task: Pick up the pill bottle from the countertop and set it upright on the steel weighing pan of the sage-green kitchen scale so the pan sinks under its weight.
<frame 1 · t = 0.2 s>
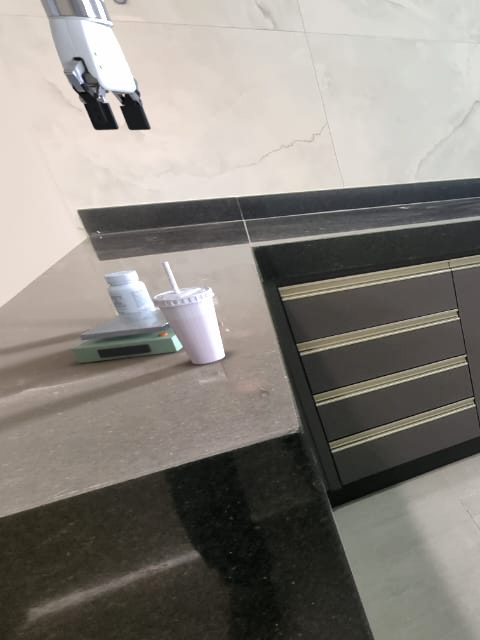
hand: (124, 129, 92), 30 cm above the counter, tool pointing down, fingers open, 9 cm apart
pill bottle: (141, 321, 92), on the counter
pan: (142, 322, 80), point 3 cm above the counter, slide at 0.0 cm
smoothie: (209, 360, 75), on the counter
scale: (151, 342, 81), on the counter
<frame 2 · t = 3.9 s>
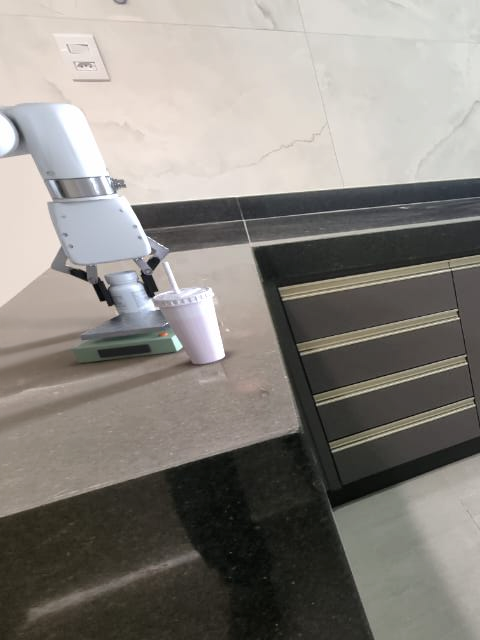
hand: (131, 299, 90), 4 cm above the counter, tool pointing down, fingers closed on pill bottle, 4 cm apart
pill bottle: (141, 321, 92), on the counter, touching gripper
everything else where it was.
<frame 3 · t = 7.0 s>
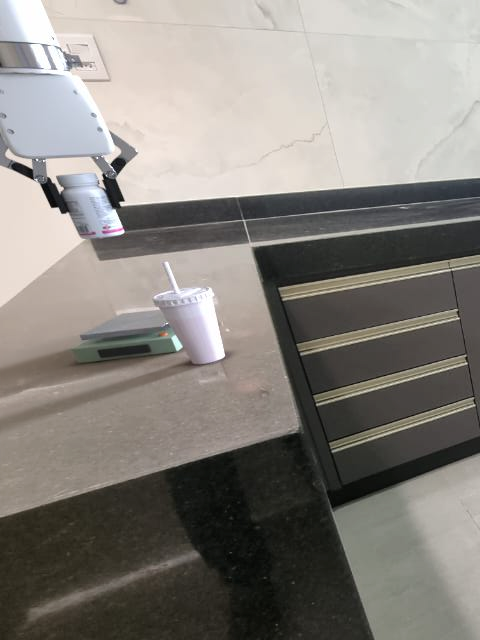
hand: (91, 209, 74), 20 cm above the counter, tool pointing down, fingers closed on pill bottle, 4 cm apart
pill bottle: (104, 237, 76), point 16 cm above the counter, touching gripper
everything else where it was.
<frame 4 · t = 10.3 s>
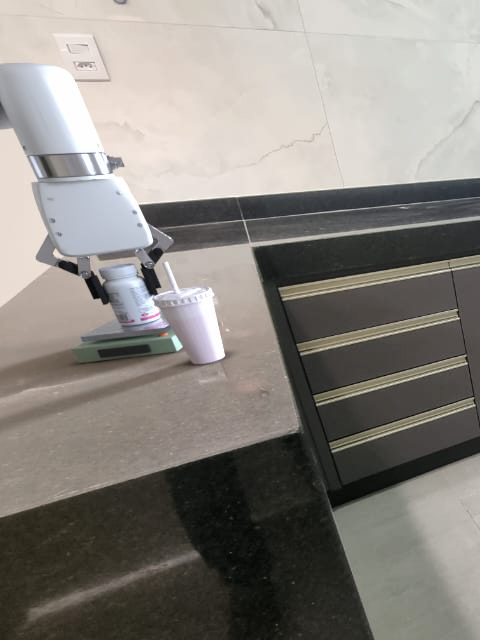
hand: (130, 297, 78), 7 cm above the counter, tool pointing down, fingers closed on pill bottle, 4 cm apart
pill bottle: (141, 322, 80), point 3 cm above the counter, touching gripper, pan
pan: (142, 323, 80), point 3 cm above the counter, slide at -0.2 cm, touching pill bottle
everything else where it was.
when the fingers open (7 cm above the counter, at t = 10.3 s): pill bottle stays where it is, resting on pan.
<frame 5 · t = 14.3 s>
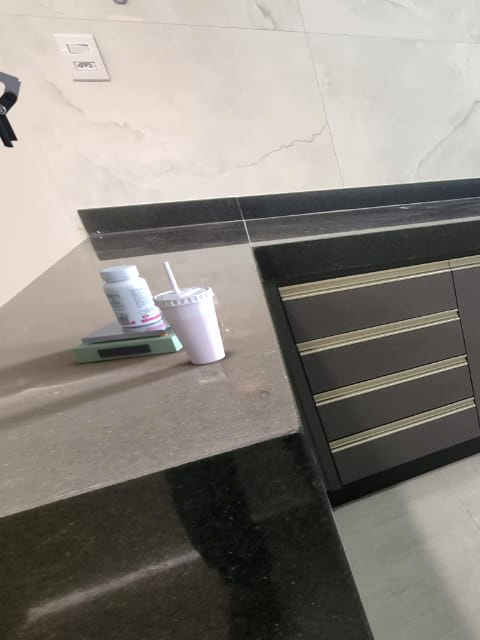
pill bottle: (142, 323, 80), point 3 cm above the counter, touching pan
pan: (143, 325, 80), point 3 cm above the counter, slide at -0.5 cm, touching pill bottle, scale
everything else where it was.
at the end: pill bottle 0.1 cm off-centre on the scale, point 3.1 cm above the scale's base; pill bottle tilted 0°; pan slide at -0.5 cm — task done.
